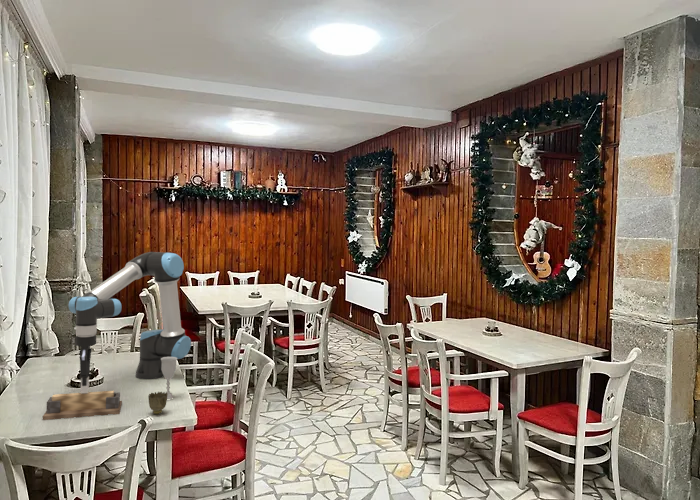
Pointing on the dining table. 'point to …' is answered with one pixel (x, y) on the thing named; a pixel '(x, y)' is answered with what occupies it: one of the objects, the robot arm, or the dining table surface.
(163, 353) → the robot arm
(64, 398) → the slat
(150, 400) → the cup
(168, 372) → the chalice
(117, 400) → the cradle
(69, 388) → the dining table surface
